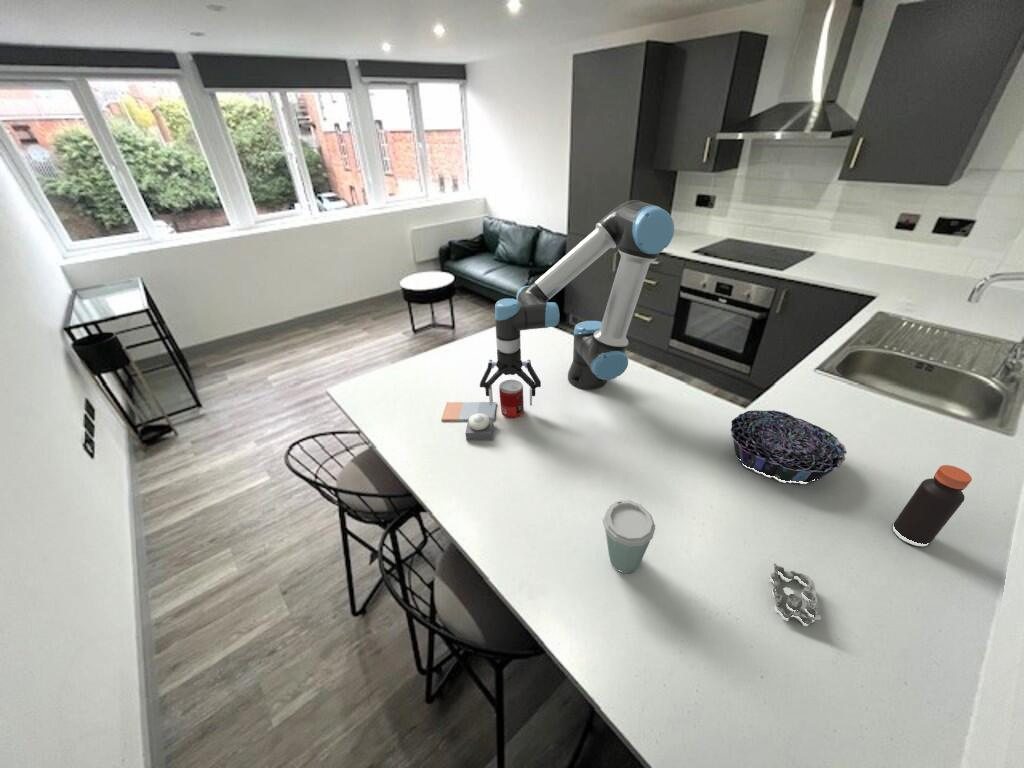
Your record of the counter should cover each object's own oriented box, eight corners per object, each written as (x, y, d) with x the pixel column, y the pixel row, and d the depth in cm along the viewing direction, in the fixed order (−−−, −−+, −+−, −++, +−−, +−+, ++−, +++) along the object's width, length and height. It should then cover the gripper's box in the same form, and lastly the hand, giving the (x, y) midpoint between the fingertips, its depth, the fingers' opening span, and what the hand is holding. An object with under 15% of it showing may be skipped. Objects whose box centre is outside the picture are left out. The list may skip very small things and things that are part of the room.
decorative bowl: (736, 425, 135) (741, 399, 130) (841, 452, 119) (852, 424, 114) (714, 471, 118) (719, 444, 113) (833, 510, 102) (845, 481, 97)
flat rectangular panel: (496, 403, 148) (496, 401, 148) (494, 420, 140) (493, 419, 139) (446, 404, 149) (446, 402, 149) (441, 421, 141) (441, 419, 140)
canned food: (521, 419, 139) (520, 392, 134) (498, 417, 141) (496, 390, 135) (525, 406, 146) (524, 380, 140) (503, 404, 147) (501, 378, 141)
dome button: (490, 423, 137) (489, 410, 134) (488, 436, 131) (487, 422, 128) (471, 423, 137) (469, 410, 134) (468, 436, 132) (467, 422, 129)
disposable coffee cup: (657, 575, 90) (667, 530, 82) (612, 589, 88) (619, 545, 80) (631, 536, 99) (639, 492, 91) (590, 548, 97) (594, 505, 89)
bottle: (883, 523, 99) (925, 461, 88) (913, 523, 98) (958, 461, 88) (905, 548, 93) (952, 485, 82) (937, 548, 93) (988, 485, 82)
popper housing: (493, 424, 138) (492, 417, 136) (491, 440, 131) (490, 432, 130) (469, 424, 138) (468, 417, 137) (466, 440, 132) (465, 433, 130)
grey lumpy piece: (767, 571, 90) (772, 560, 88) (807, 583, 88) (814, 572, 85) (771, 617, 82) (777, 606, 80) (816, 632, 79) (823, 621, 77)
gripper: (548, 342, 132) (547, 397, 144) (471, 342, 134) (476, 396, 145) (548, 353, 126) (547, 409, 137) (467, 354, 127) (473, 409, 139)
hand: (511, 403), depth 141 cm, fingers open, 13 cm apart
